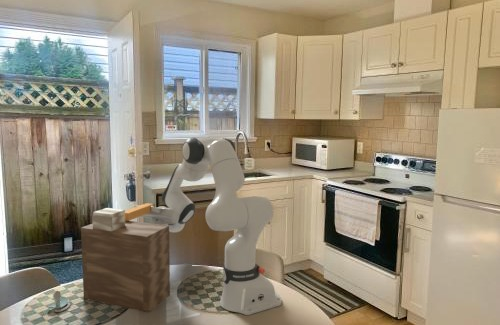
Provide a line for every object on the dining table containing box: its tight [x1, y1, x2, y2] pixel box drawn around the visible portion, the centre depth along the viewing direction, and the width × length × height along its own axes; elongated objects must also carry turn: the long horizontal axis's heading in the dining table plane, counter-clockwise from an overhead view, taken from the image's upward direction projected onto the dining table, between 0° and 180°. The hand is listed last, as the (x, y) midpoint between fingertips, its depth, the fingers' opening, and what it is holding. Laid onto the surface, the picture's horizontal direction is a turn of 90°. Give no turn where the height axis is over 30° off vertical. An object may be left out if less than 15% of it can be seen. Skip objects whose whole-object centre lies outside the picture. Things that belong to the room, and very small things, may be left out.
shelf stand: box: [80, 207, 171, 313], centre depth 141 cm, size 14×28×33 cm, turn 71°
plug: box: [125, 202, 156, 221], centre depth 156 cm, size 18×4×3 cm, turn 161°
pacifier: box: [47, 290, 71, 313], centre depth 134 cm, size 7×6×6 cm
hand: (146, 207), depth 160 cm, fingers closed on plug, 3 cm apart
